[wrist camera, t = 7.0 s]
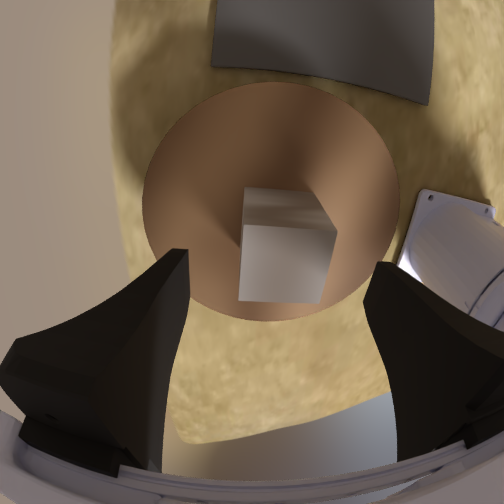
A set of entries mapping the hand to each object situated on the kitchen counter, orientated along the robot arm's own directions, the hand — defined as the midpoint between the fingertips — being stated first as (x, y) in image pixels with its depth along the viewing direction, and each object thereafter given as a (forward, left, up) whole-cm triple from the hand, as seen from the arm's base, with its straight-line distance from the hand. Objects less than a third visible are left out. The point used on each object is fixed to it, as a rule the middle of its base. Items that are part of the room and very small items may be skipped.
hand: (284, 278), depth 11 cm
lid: (0, -1, -5) cm, 5 cm away
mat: (-3, -15, -9) cm, 18 cm away
